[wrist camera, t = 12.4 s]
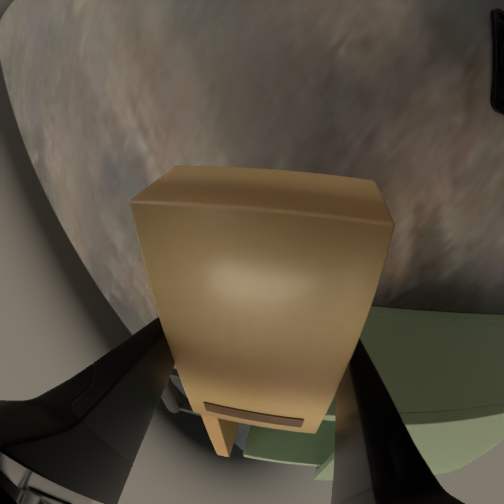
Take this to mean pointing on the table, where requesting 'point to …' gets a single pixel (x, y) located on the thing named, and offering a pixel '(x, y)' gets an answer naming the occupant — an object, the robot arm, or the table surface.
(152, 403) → the robot arm
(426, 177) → the table surface
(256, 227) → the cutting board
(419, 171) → the table surface
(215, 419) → the drawer
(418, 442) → the cabinet
